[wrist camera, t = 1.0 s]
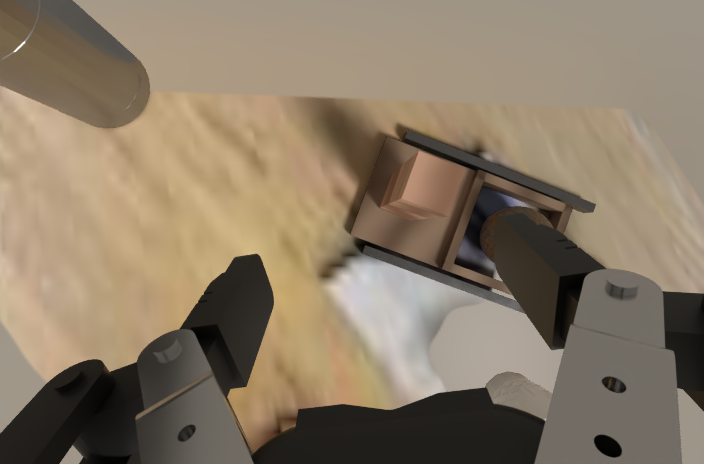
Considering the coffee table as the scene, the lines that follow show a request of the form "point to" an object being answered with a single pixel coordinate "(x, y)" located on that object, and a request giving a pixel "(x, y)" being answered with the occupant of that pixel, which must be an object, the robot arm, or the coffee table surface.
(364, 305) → the coffee table surface
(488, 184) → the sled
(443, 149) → the lane rails
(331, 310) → the coffee table surface
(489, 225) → the vase
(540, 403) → the white cup
